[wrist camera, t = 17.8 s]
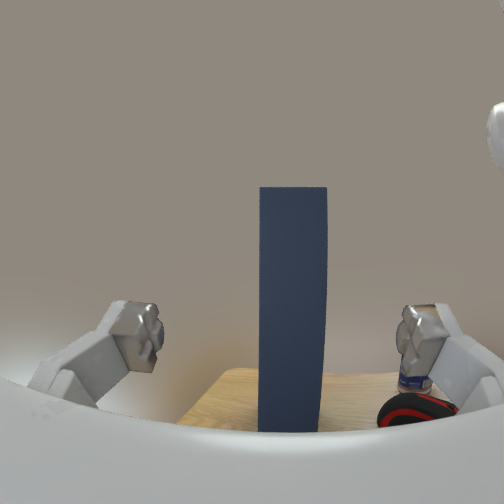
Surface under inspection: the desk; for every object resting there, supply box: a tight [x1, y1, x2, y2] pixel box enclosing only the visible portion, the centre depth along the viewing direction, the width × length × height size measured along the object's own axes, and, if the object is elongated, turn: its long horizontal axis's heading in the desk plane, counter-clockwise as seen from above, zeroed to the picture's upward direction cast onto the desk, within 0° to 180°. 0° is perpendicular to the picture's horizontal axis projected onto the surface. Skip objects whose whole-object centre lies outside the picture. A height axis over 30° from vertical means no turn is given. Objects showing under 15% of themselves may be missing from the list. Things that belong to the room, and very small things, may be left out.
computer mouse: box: [377, 392, 459, 428], centre depth 30 cm, size 6×11×4 cm, turn 64°
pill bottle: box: [398, 355, 433, 394], centre depth 40 cm, size 5×5×10 cm
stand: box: [258, 187, 328, 433], centre depth 34 cm, size 6×11×26 cm, turn 174°
